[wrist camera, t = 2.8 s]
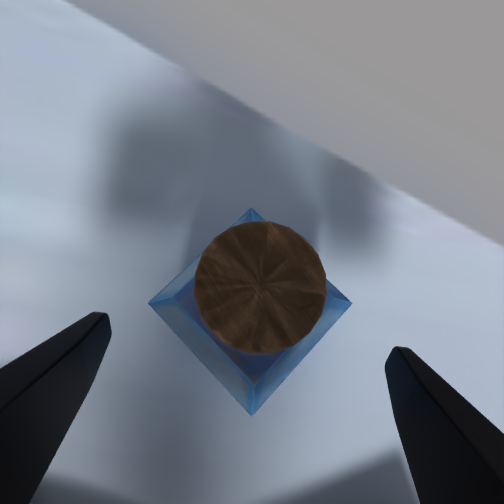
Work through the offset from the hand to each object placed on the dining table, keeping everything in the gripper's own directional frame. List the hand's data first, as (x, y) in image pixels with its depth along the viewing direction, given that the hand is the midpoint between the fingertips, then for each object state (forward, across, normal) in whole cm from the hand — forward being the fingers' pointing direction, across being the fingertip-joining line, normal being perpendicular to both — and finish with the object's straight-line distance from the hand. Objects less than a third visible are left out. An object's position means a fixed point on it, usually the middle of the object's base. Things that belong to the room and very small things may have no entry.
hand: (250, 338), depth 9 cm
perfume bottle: (+8, 0, +6) cm, 10 cm away
